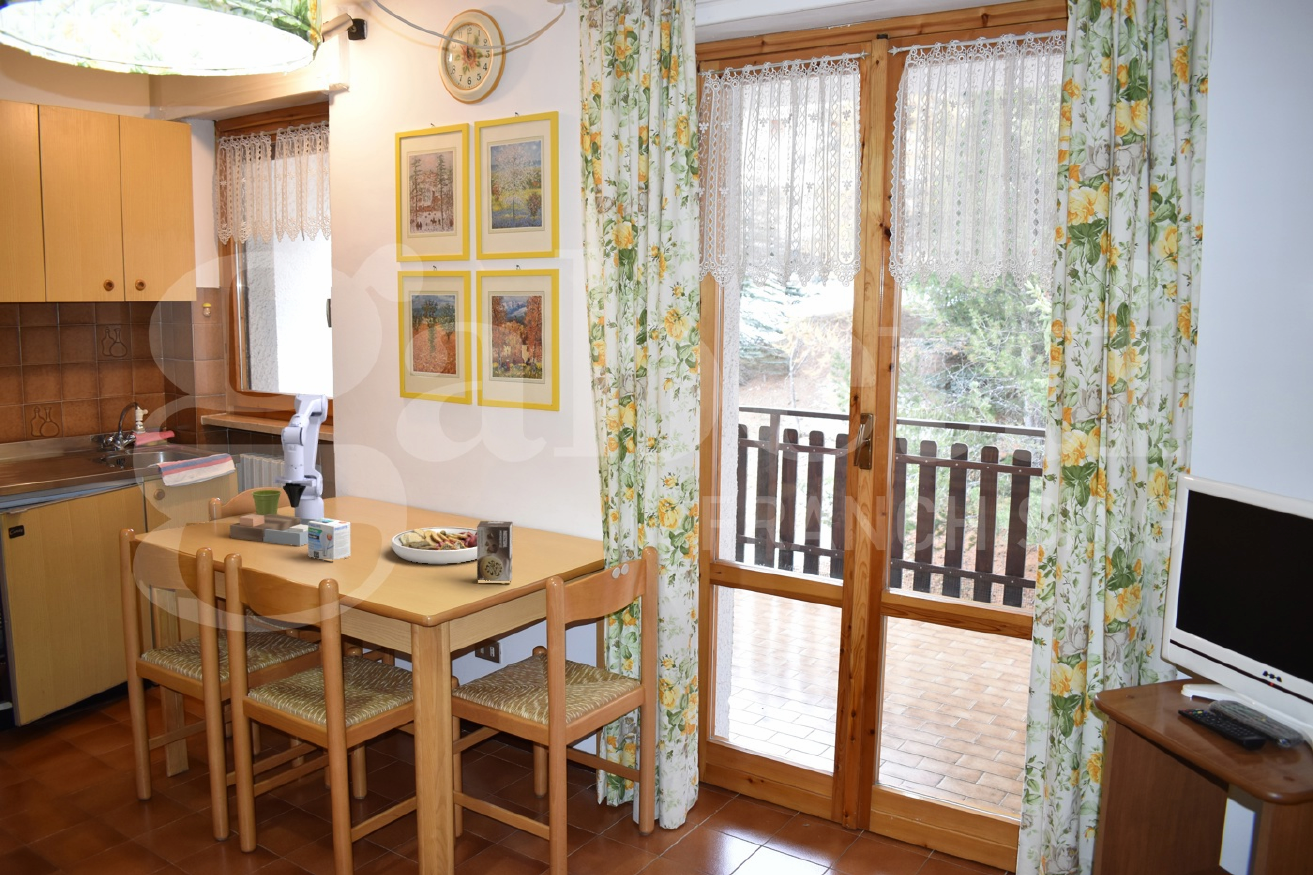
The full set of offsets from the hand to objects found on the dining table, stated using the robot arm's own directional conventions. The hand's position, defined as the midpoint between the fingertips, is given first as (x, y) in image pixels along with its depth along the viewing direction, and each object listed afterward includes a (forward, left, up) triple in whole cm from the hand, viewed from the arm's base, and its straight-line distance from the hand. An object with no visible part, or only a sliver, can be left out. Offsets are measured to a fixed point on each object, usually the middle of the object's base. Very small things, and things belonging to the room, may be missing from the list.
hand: (294, 507), depth 299 cm
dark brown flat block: (+3, -9, -9) cm, 13 cm away
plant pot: (-16, -24, -9) cm, 30 cm away
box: (+3, +4, -9) cm, 10 cm away
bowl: (+1, +53, -10) cm, 54 cm away
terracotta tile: (+8, -10, -5) cm, 14 cm away
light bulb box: (+19, +26, -9) cm, 33 cm away
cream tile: (0, +3, -6) cm, 7 cm away
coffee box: (+21, +80, -9) cm, 83 cm away
